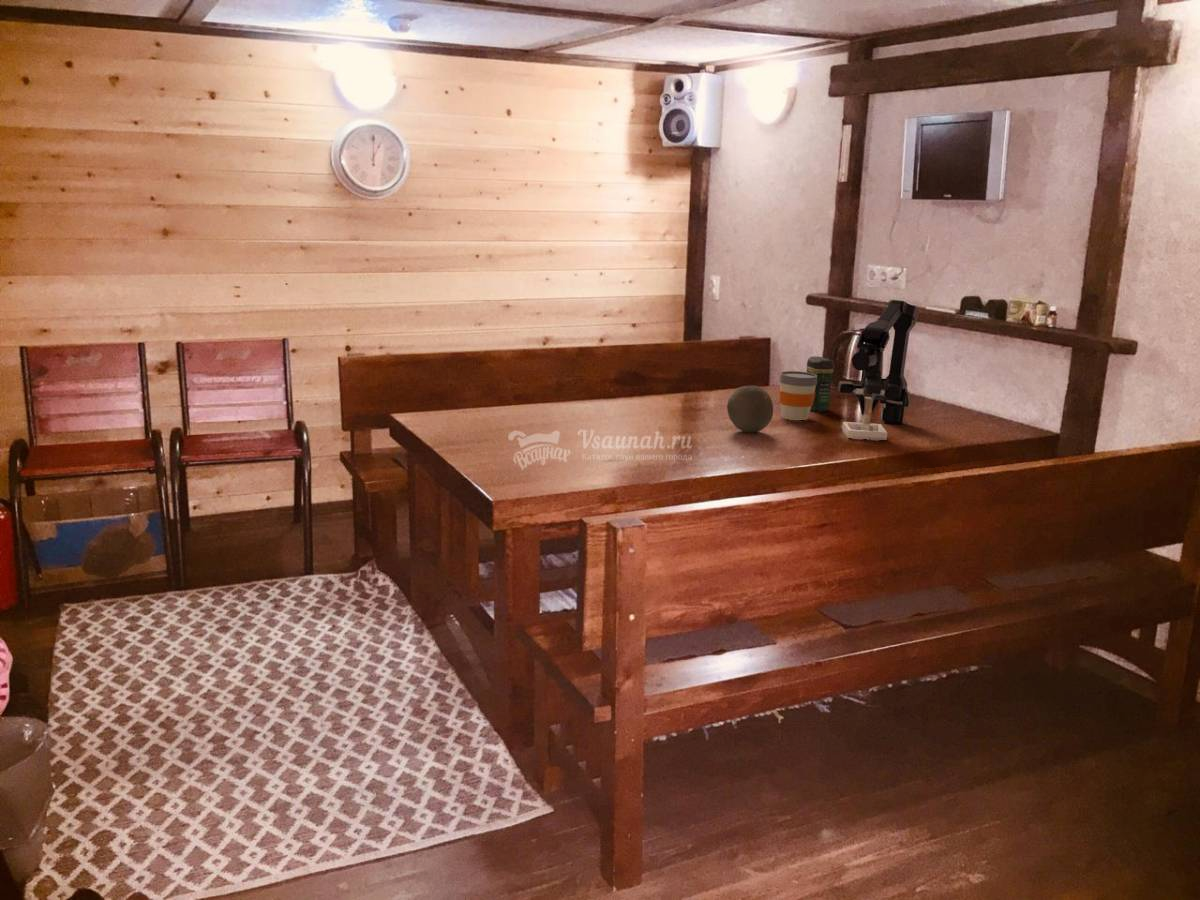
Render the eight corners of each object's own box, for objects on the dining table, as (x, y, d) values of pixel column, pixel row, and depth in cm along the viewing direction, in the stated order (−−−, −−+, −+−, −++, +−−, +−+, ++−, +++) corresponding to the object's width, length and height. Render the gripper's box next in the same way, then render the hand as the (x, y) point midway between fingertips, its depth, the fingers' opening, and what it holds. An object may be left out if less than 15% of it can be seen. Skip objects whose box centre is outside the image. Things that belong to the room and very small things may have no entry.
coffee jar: (832, 411, 348) (838, 359, 343) (812, 412, 346) (818, 359, 341) (818, 405, 357) (823, 354, 352) (799, 406, 354) (804, 355, 350)
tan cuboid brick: (867, 421, 317) (870, 397, 314) (869, 424, 312) (872, 400, 310) (861, 421, 317) (863, 396, 315) (863, 424, 312) (866, 399, 310)
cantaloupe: (733, 425, 321) (737, 379, 317) (776, 431, 315) (780, 385, 311) (719, 434, 309) (723, 386, 305) (763, 440, 303) (767, 392, 299)
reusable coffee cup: (801, 413, 343) (806, 370, 339) (820, 421, 332) (825, 377, 328) (769, 414, 339) (773, 371, 335) (787, 422, 328) (791, 378, 324)
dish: (879, 431, 321) (880, 422, 320) (886, 441, 309) (887, 431, 309) (842, 429, 322) (843, 420, 321) (847, 438, 310) (848, 428, 310)
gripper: (845, 369, 303) (839, 419, 307) (907, 373, 302) (901, 422, 306) (840, 363, 314) (835, 411, 318) (900, 366, 312) (894, 414, 316)
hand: (866, 415), depth 314 cm, fingers closed on tan cuboid brick, 2 cm apart
